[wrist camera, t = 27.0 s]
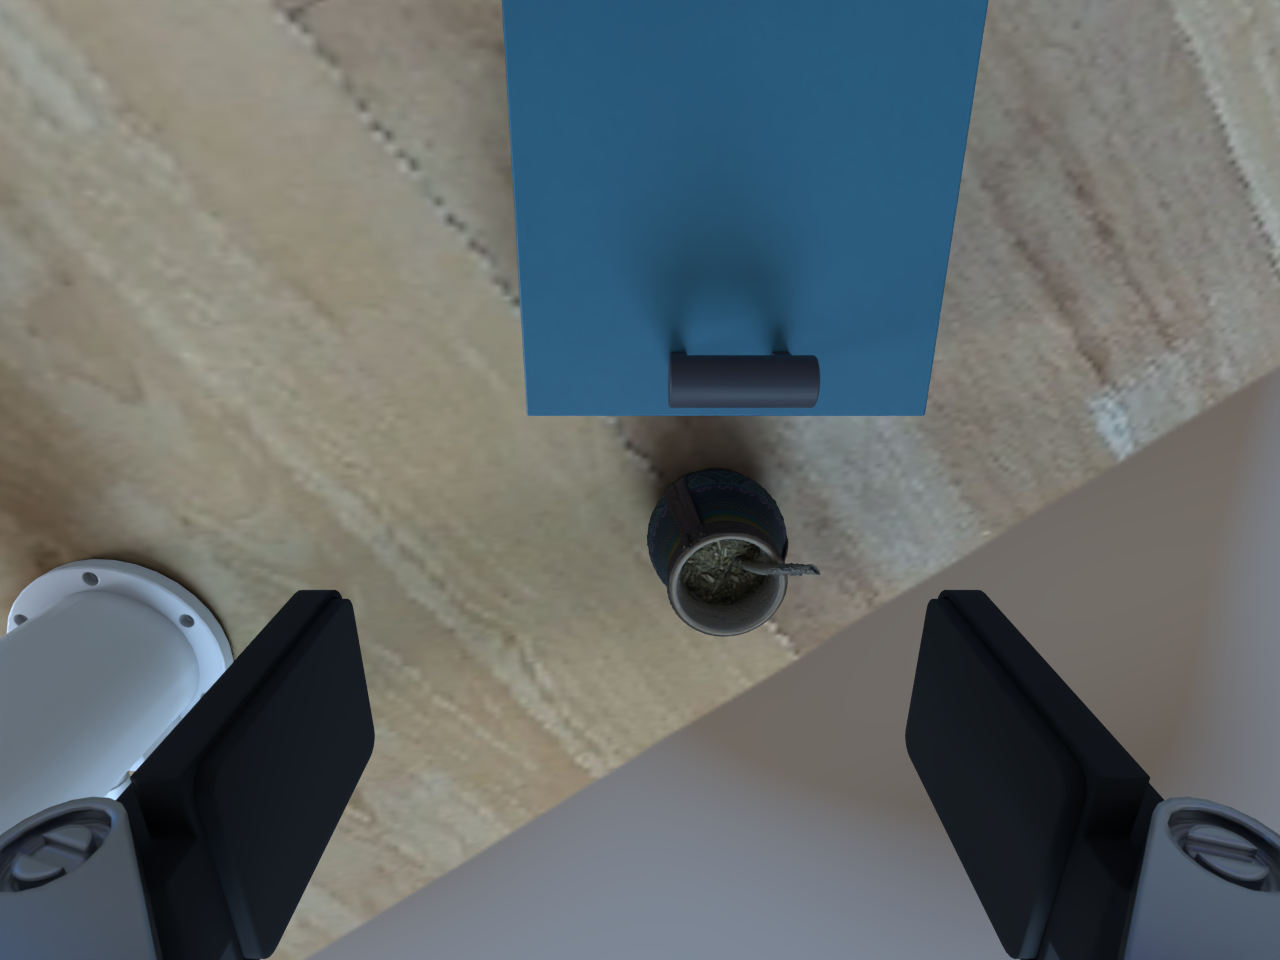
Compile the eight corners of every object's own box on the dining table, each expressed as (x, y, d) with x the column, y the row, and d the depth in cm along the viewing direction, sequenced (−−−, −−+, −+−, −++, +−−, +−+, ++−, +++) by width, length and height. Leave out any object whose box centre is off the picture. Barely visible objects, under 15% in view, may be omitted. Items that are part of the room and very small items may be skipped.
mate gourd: (619, 507, 39) (612, 602, 30) (725, 423, 37) (754, 495, 28) (699, 593, 41) (717, 706, 32) (804, 517, 39) (855, 613, 30)
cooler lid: (918, 410, 29) (976, 453, 24) (529, 411, 29) (506, 453, 24) (982, -18, 24) (1075, -80, 19) (504, -18, 24) (467, -79, 19)
